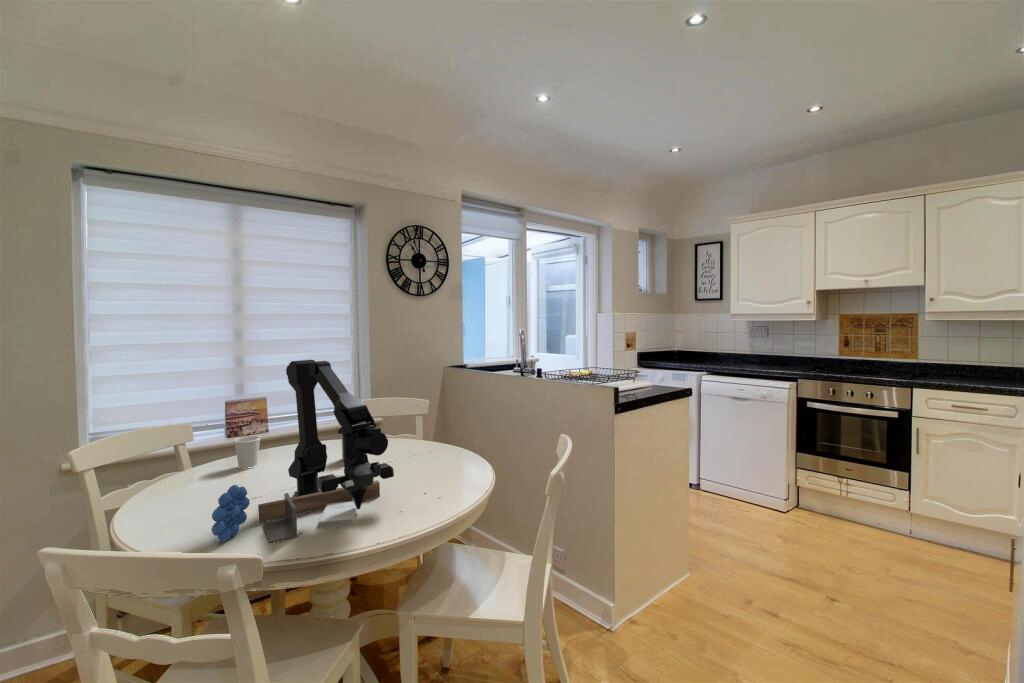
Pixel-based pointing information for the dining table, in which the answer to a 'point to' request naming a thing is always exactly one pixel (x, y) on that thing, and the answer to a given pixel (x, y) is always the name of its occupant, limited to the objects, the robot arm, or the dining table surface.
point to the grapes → (230, 512)
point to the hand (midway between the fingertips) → (358, 508)
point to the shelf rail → (312, 502)
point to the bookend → (283, 524)
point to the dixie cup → (247, 451)
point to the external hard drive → (338, 514)
